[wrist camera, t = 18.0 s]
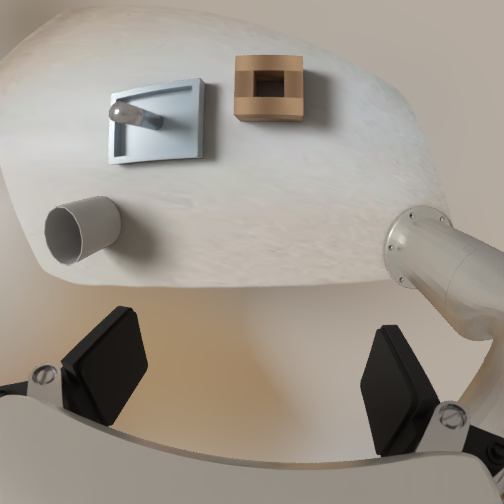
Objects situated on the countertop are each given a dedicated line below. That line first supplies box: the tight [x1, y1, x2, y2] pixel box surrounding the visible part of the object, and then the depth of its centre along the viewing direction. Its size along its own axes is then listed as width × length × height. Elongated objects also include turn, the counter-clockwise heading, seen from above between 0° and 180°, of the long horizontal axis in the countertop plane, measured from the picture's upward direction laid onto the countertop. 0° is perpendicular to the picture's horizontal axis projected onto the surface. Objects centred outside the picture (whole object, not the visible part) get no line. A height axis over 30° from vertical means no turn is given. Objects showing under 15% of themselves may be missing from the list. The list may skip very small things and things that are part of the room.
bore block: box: [234, 55, 303, 122], centre depth 29 cm, size 8×8×5 cm
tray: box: [109, 78, 205, 165], centre depth 33 cm, size 14×11×2 cm
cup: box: [44, 196, 122, 266], centre depth 35 cm, size 8×8×10 cm
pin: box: [109, 101, 163, 130], centre depth 29 cm, size 2×2×10 cm
